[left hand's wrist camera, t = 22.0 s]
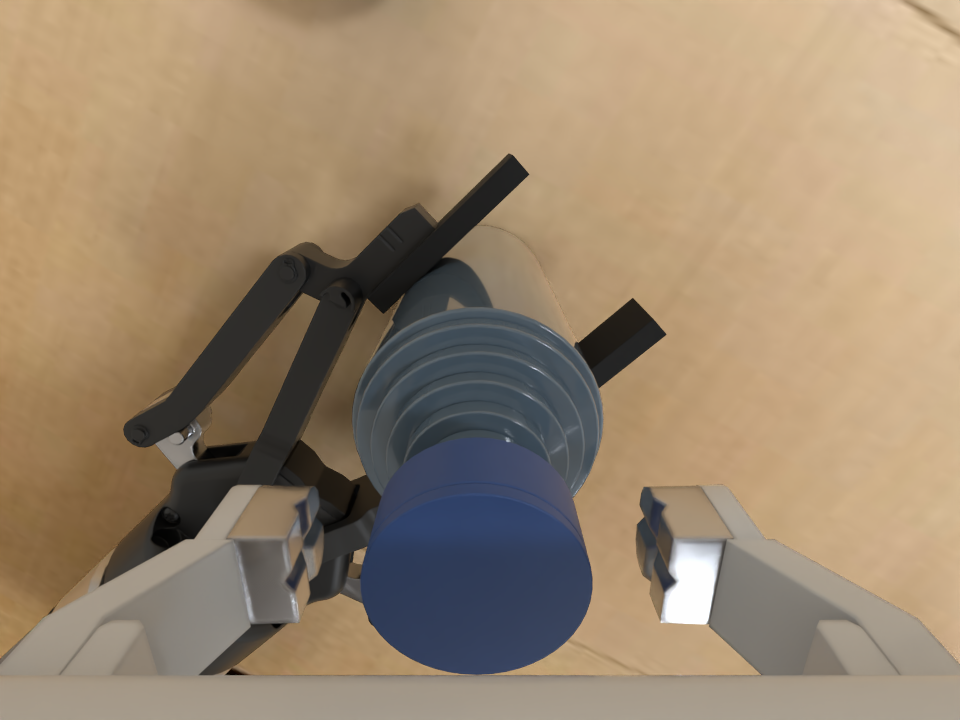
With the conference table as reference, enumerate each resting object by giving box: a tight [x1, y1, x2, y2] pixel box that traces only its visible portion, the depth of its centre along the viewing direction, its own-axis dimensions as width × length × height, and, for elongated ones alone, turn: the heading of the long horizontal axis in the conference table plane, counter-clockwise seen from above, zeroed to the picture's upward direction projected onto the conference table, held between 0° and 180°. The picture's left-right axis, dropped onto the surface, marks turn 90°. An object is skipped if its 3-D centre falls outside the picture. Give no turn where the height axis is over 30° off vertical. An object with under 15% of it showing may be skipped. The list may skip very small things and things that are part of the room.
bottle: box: [352, 225, 604, 498], centre depth 18 cm, size 6×6×18 cm
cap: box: [360, 437, 592, 675], centre depth 10 cm, size 4×4×2 cm
